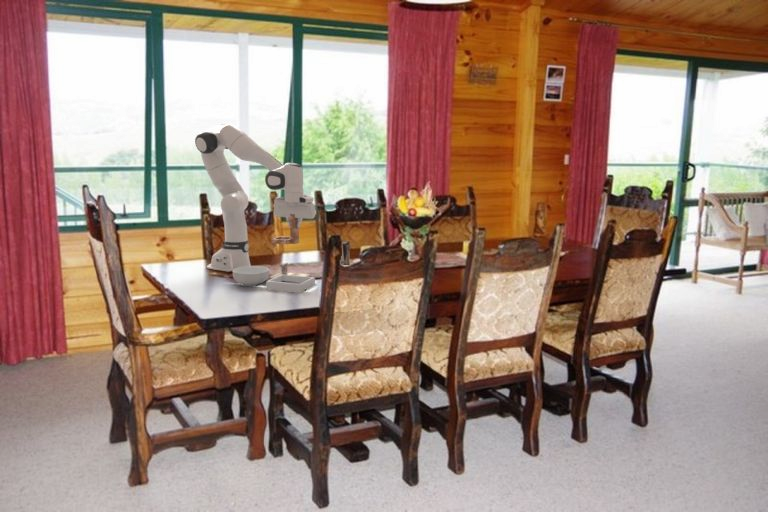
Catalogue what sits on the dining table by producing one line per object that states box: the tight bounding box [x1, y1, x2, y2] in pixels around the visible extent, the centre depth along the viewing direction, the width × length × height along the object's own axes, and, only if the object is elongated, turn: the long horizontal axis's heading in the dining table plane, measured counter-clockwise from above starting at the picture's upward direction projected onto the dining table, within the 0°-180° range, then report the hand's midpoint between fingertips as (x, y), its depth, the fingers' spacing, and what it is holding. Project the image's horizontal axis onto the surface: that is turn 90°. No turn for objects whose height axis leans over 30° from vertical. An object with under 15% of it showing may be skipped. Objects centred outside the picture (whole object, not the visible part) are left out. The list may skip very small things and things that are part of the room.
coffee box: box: [341, 240, 351, 265], centre depth 344 cm, size 9×6×16 cm
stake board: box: [268, 262, 311, 279], centre depth 336 cm, size 16×13×7 cm
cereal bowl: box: [232, 265, 270, 287], centre depth 323 cm, size 17×17×7 cm
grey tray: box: [265, 274, 316, 294], centre depth 318 cm, size 17×15×4 cm
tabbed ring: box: [270, 214, 300, 245], centre depth 332 cm, size 12×9×14 cm
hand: (294, 227), depth 330 cm, fingers closed on tabbed ring, 2 cm apart
